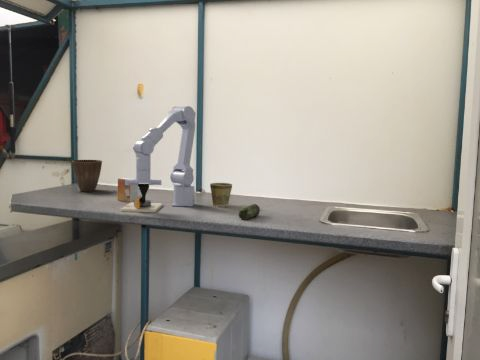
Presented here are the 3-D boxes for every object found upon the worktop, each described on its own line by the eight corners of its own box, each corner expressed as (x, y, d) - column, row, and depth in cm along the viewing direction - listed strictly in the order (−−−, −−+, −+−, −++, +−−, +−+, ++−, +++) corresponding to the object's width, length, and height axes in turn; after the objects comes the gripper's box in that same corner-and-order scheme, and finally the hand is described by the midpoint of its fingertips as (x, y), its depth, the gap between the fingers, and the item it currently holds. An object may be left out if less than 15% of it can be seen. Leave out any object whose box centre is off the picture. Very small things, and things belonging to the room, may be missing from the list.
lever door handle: (136, 203, 176) (136, 193, 176) (152, 204, 176) (152, 194, 176) (128, 208, 165) (128, 198, 165) (145, 209, 165) (145, 198, 164)
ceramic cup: (228, 208, 180) (229, 186, 178) (207, 206, 181) (207, 184, 180) (235, 203, 192) (235, 182, 191) (214, 202, 194) (215, 181, 193)
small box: (117, 200, 189) (117, 178, 188) (125, 199, 194) (125, 177, 193) (130, 202, 186) (130, 179, 184) (138, 201, 190) (138, 178, 189)
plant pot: (91, 193, 207) (91, 162, 205) (66, 191, 210) (65, 160, 208) (107, 189, 221) (107, 160, 219) (83, 188, 225) (83, 159, 223)
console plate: (162, 205, 181) (162, 202, 181) (154, 212, 165) (154, 209, 165) (131, 204, 181) (131, 201, 181) (120, 211, 165) (120, 208, 165)
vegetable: (248, 221, 155) (249, 208, 154) (236, 220, 157) (236, 207, 156) (262, 215, 167) (263, 203, 167) (251, 214, 170) (251, 202, 169)
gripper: (160, 168, 172) (159, 200, 174) (124, 168, 168) (124, 201, 169) (162, 170, 166) (161, 203, 167) (125, 170, 161) (125, 204, 163)
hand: (143, 202), depth 168 cm, fingers closed, pressing on lever door handle
